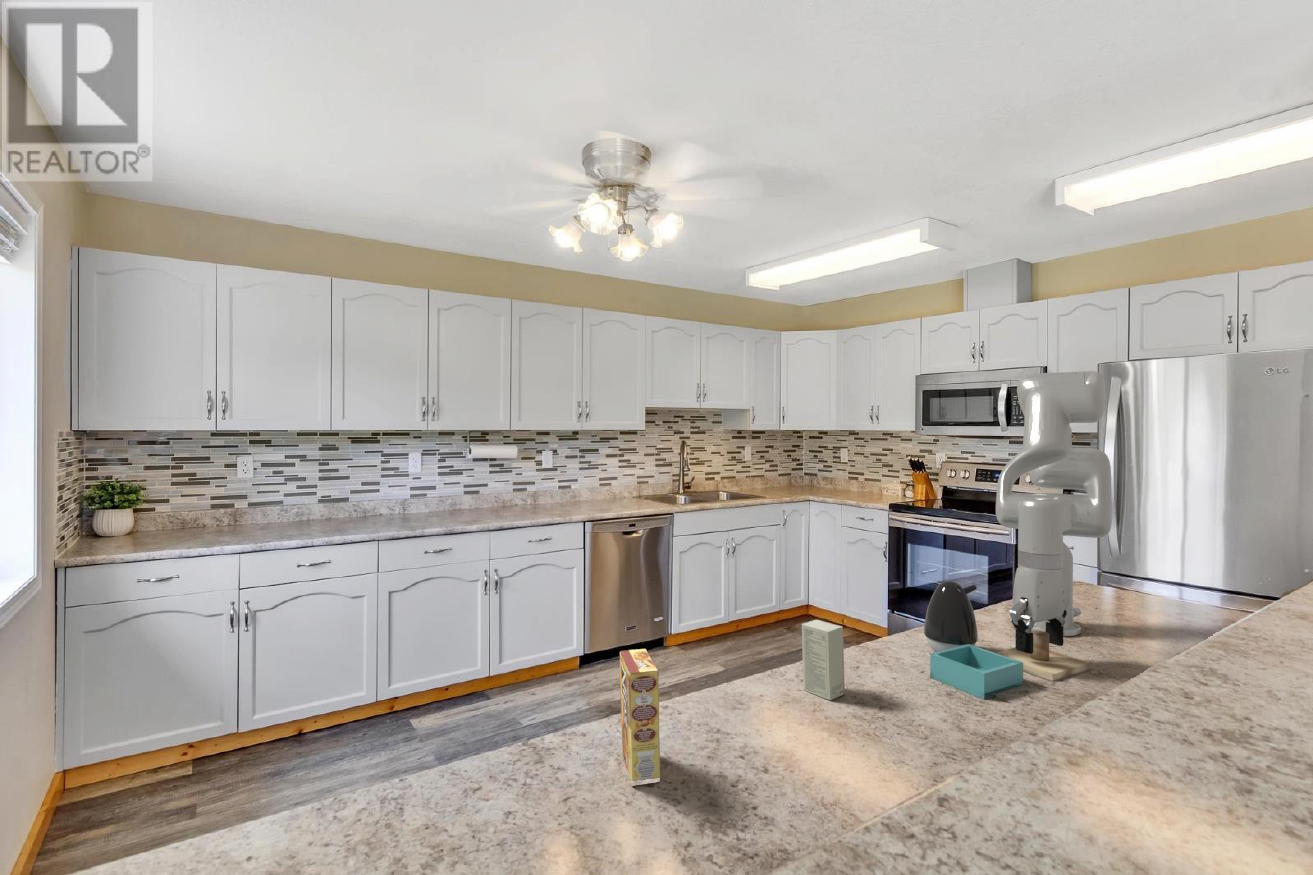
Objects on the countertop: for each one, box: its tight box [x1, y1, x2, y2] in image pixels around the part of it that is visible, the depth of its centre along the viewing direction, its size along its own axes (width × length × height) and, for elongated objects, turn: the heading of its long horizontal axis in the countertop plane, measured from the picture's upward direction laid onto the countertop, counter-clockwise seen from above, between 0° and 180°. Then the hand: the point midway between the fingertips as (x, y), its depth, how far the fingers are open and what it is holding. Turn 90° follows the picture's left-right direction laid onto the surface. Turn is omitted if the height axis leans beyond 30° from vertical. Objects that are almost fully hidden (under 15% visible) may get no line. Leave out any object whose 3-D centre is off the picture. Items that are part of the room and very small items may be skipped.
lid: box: [996, 630, 1091, 681], centre depth 124 cm, size 12×12×6 cm
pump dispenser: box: [923, 580, 979, 653], centre depth 131 cm, size 10×10×15 cm
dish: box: [929, 644, 1024, 700], centre depth 116 cm, size 11×11×4 cm
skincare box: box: [801, 619, 846, 701], centre depth 112 cm, size 6×4×12 cm
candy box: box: [619, 648, 661, 781], centre depth 87 cm, size 9×4×15 cm, turn 13°
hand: (1039, 647), depth 123 cm, fingers open, 9 cm apart
